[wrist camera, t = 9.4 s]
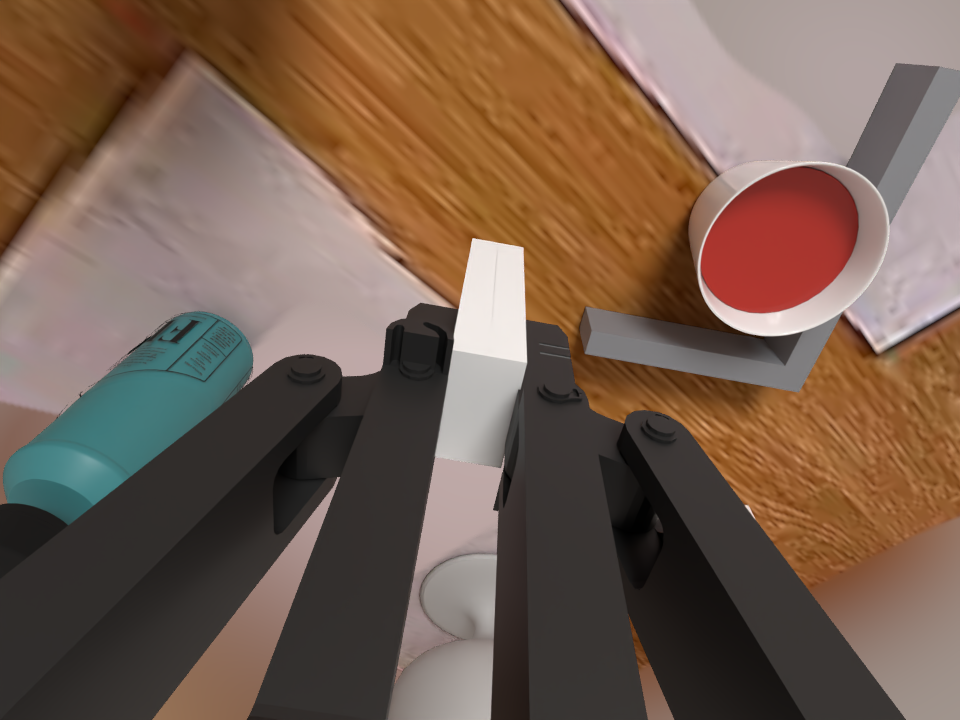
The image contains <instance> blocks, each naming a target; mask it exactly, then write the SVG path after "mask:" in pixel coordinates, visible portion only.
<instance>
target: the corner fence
mask: <svg viewBox="0 0 960 720" xmlns="http://www.w3.org/2000/svg"><path fill="white" fill-rule="evenodd" d="M959 97H960V71H958V70H953V69H948V68H943V67H937V66H925V65H912V64H898V63H896V65H895V67H894V69H893V71H892V73H891V75H890V77H889V79H888V81H887V83H886V85H885V87H884V89H883V92H882V94H881V96H880V98H879V100H878V102H877V104H876V106H875V108H874V110H873V112H872V114H871V117H870V119H869V121H868V123H867V125H866V127H865V129H864V131H863V133H862V135H861V137H860V139H859V142H858V144H857V146H856V148H855V150H854V152H853V154H852V156H851V158H850V160H849V162H848V164H847V168H850V169H852V170H854V171H856V172H858V173H860V174H861V175H863V176H864V177H865V178H866V179H868V180H869V181H870V182H871V183H872V184H873V185H874V186H875V188H876V189H877V190H878V192H879V193H880V195H881V196H882V198H883V200H884V203H885V205H886V208H887V212H888V217H889V226H890V224H891V222H892V220H893V218H894V217H895V215H896V213H897V211H898V209H899V207H900V206H901V204H902V202H903V200H904V198H905V196H906V195H907V193H908V191H909V189H910V187H911V185H912V184H913V182H914V180H915V178H916V176H917V174H918V173H919V171H920V169H921V167H922V165H923V163H924V162H925V160H926V158H927V156H928V154H929V152H930V150H931V149H932V147H933V145H934V143H935V141H936V139H937V138H938V136H939V134H940V132H941V130H942V128H943V127H944V125H945V123H946V121H947V119H948V117H949V116H950V114H951V112H952V109H953V108H954V106H955V105H956V103H957V101H958V99H959ZM842 312H843V311H842ZM842 312H841V313H840V314H838V315H837V316H835V317H834V318H832V319H830V320H828V321H827V322H825V323H823V324H821V325H818V326H816V327H814V328H811V329H809V330H806V331H802V332H799V333H795V334H790V335H783V336H765V337H764V339H760V338H754V337H749V336H743V335H738V334H732V333H727V332H721V331H716V330H711V329H705V328H700V327H694V326H689V325H683V324H678V323H672V322H667V321H661V320H656V319H650V318H645V317H639V316H634V315H629V314H623V313H618V312H612V311H607V310H601V309H596V308H590V307H585V311H584V314H583V318H582V321H581V324H580V328H579V329H580V333H581V338H582V343H583V347H584V352H585V354H589V355H594V356H600V357H605V358H611V359H616V360H622V361H628V362H633V363H639V364H644V365H650V366H655V367H661V368H666V369H672V370H678V371H683V372H689V373H694V374H700V375H705V376H711V377H717V378H722V379H728V380H733V381H739V382H744V383H750V384H755V385H761V386H767V387H772V388H778V389H783V390H789V391H794V392H799V391H800V389H801V387H802V386H803V384H804V382H805V380H806V378H807V376H808V375H809V373H810V371H811V369H812V367H813V365H814V364H815V362H816V360H817V358H818V356H819V354H820V353H821V351H822V349H823V347H824V345H825V343H826V342H827V340H828V338H829V336H830V334H831V332H832V331H833V329H834V327H835V325H836V323H837V321H838V320H839V318H840V316H841V314H842Z"/></svg>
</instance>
